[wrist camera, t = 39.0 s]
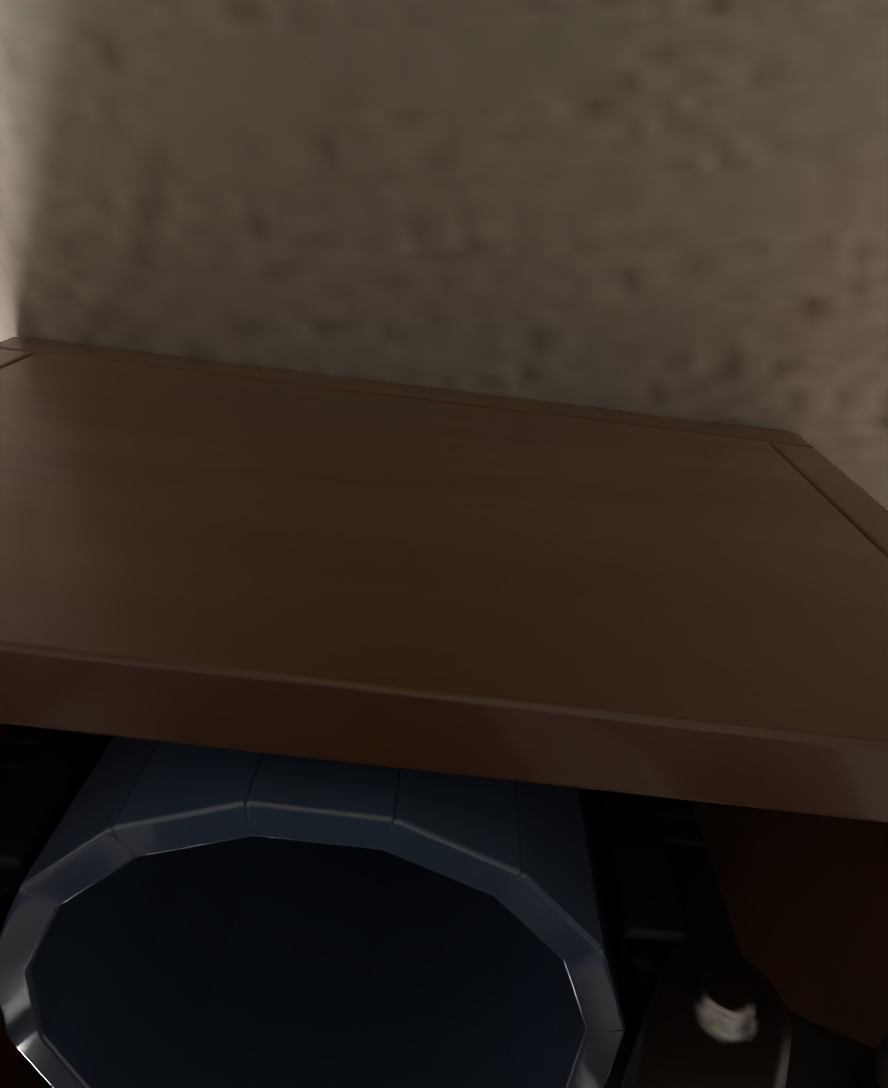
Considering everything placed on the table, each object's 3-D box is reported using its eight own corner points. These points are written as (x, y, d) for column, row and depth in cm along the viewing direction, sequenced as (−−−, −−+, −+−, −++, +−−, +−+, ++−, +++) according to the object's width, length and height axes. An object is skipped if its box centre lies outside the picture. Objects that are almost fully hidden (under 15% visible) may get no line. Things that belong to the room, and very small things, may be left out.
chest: (12, 335, 13) (-614, 574, 5) (797, 431, 13) (1217, 783, 6) (99, 930, 20) (-121, 1383, 13) (607, 983, 20) (684, 1459, 13)
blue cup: (176, 496, 11) (-65, 768, 6) (598, 546, 11) (696, 854, 6) (192, 805, 14) (36, 1162, 9) (528, 842, 14) (557, 1215, 9)
